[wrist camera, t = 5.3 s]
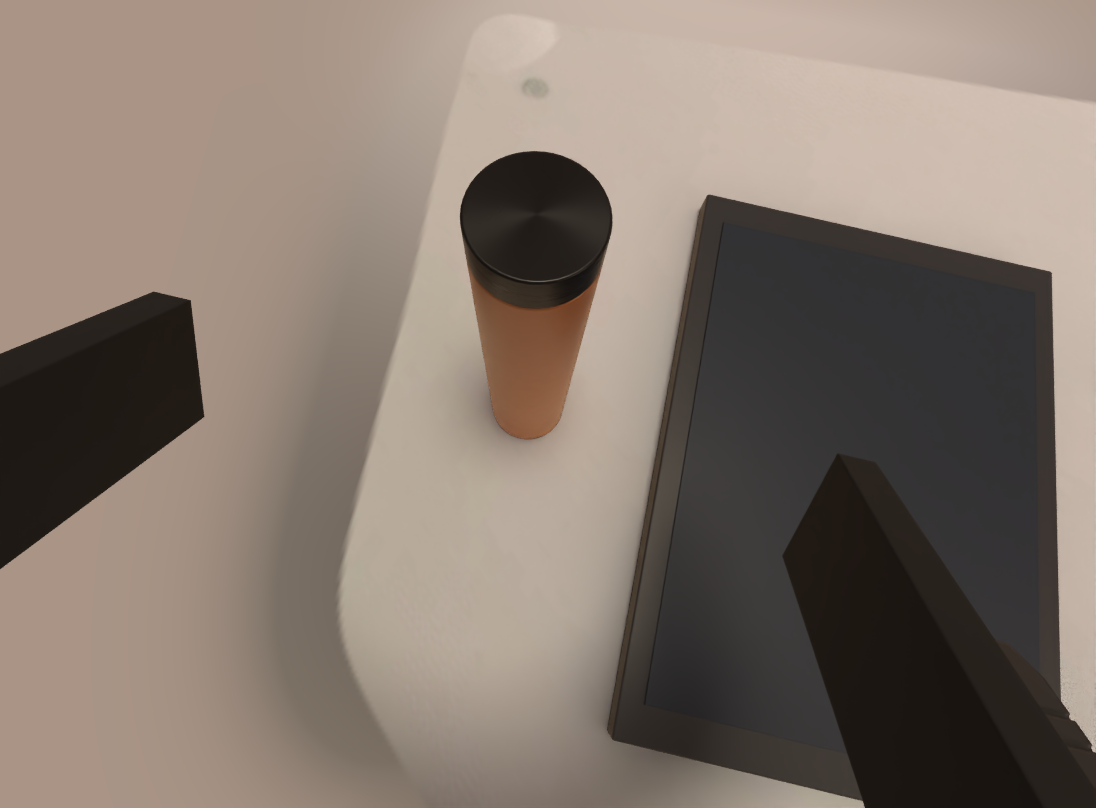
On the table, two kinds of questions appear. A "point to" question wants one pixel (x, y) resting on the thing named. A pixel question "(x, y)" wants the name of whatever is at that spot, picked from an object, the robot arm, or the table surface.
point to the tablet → (805, 457)
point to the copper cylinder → (533, 279)
